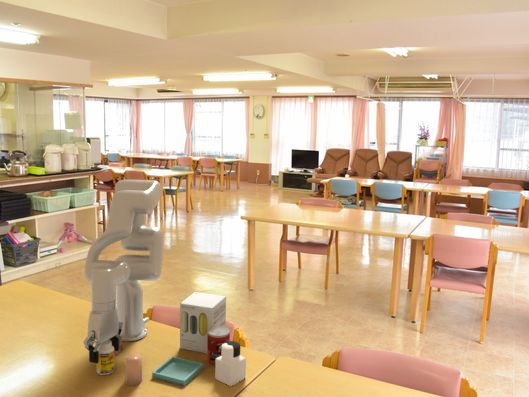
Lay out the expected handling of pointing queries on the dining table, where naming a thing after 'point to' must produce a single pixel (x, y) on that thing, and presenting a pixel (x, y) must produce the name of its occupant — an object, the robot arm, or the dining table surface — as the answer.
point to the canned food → (216, 342)
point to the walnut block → (119, 346)
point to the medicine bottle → (230, 364)
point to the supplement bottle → (105, 358)
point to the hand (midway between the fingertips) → (104, 356)
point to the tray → (177, 371)
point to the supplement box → (200, 319)
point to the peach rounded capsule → (133, 369)
